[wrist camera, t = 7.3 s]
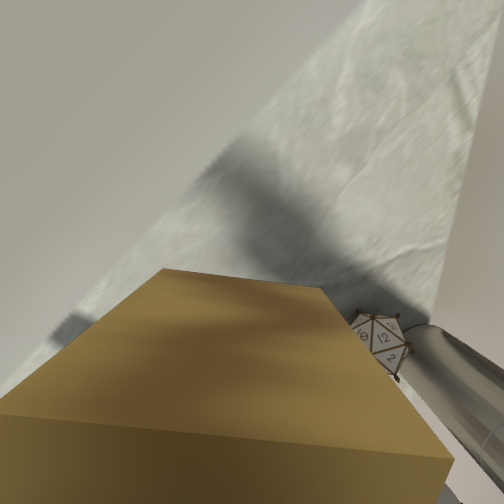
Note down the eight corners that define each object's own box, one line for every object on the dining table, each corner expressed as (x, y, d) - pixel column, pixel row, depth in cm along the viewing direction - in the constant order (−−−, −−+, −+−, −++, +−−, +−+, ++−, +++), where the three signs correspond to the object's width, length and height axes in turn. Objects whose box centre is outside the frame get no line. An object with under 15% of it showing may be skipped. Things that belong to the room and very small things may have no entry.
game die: (358, 321, 38) (394, 389, 32) (317, 322, 35) (348, 398, 29) (400, 291, 33) (454, 366, 26) (355, 289, 29) (406, 375, 23)
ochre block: (320, 288, 9) (455, 459, 3) (292, 414, 10) (350, 703, 4) (163, 268, 9) (-17, 412, 3) (156, 400, 10) (24, 684, 4)
